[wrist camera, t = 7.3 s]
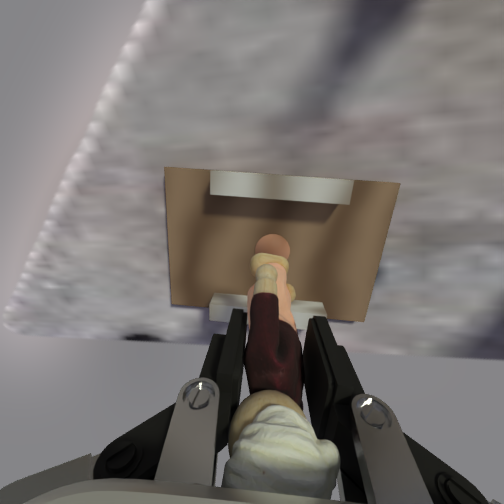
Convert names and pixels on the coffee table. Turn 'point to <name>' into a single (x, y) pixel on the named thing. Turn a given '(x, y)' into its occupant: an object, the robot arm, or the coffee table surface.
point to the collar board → (276, 239)
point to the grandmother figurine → (276, 400)
